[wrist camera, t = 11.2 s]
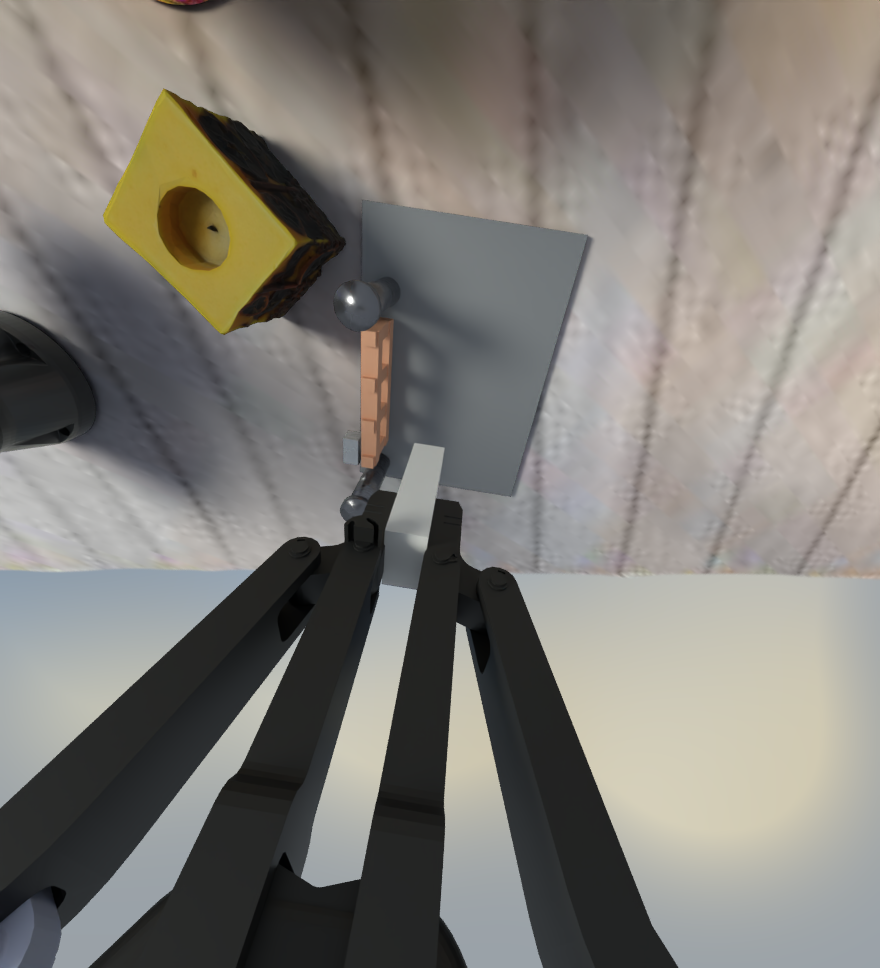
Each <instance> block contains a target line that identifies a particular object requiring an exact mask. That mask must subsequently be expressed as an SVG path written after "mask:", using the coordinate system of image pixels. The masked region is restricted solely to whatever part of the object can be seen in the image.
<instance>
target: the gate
mask: <svg viewBox="0 0 880 968" xmlns="http://www.w3.org/2000/svg"><path fill="white" fill-rule="evenodd" d="M393 325H394V319H391V318H384V317H380V318H379V320H378V322H377V323H376V324H375V325H374V326H372V327H371V328H370V329H368V330H366V331H361V467H365V468H372V469H373V468H374V466H376V465H377V463H378V461H379V456H380V454H381V451H382V449H383V447H384V446H386V444H387V442H388V438H389V416H390V393H391V370H392V347H393Z"/></svg>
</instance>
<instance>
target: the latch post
mask: <svg viewBox="0 0 880 968" xmlns="http://www.w3.org/2000/svg"><path fill="white" fill-rule="evenodd" d="M360 461H361V432H357V431H350V430H349V431H348V432H347V433H346V435H345V436H344V438H343V462H344V463H347V464H353V465H358V464H359V463H360ZM389 466H390V460H389V458H388V457H387V456H386V455H385V454H383V453H381V454H380V456H379V461H378V463H377V465H376V466H374V468H373V469H372V468H365V470H364V472H363V474H362V476H361V478H360V480H359V482H358V484H357V486H356V488H355V490H354V491H353V493H352V495H351V496H349V497H347V498H346V499H345V500H344V502H343V504H342V505H341V508H340V513H341V515H342V517H343V518H344V520H345V521H347V520H348V519H350V518H352V517H354V516H359V515H362V514H363V512H364V509H365V507H366V505H367V503H368V500H369V498H370V496H371V495H372V494H374V493H375V492H376V491H377V490H380V487H381V485H382V482H383V480H384V478H385V475H386V473H387V471H388V468H389Z"/></svg>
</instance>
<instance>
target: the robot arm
mask: <svg viewBox="0 0 880 968" xmlns="http://www.w3.org/2000/svg"><path fill="white" fill-rule="evenodd" d="M95 415H96V407H95V401H94V397H93V394H92V391H91V389H90V387H89V384H88V383H87V381H86V379H85V377H84V375H83V374H82V372H81V371H80V369H79V368H78V367H77V365H76V364H75V363H74V361H73V360H72V359H71V358H70V357H69V356H68V354H67V353H66V352H65V351H64V350H63V349H62V348H61V347H60V346H59V345H58V344H56V343H55V342H54V341H53V340H52V339H51V338H50V337H48V336H47V335H46V334H44V333H43V332H42V331H40V330H39V329H37V328H36V327H34V326H33V325H31V324H30V323H28V322H26V321H24V320H22V319H20V318H18V317H16V316H14V315H12V314H9V313H6V312H3V311H0V453H1V452H7V451H14V450H21V449H28V448H35V447H42V446H49V445H56V444H60V443H64V442H67V441H69V440H71V439H74V438H76V437H78V436H80V435H82V434H84V433H86V432H87V431H88V430H89V429H90V428H91V427H92V425H93V423H94V420H95ZM444 449H445V448H443V447H437V446H431V445H425V444H419V443H414V446H413V449H412V452H411V455H410V458H409V461H408V464H407V467H406V470H405V472H404V475H403V478H402V481H401V484H400V487H399V490H398V493H395V492H388V491H382V490H377V491H376V492H375V493H374V494H372V495H371V496H370V498H369V500H368V503H367V505H366V507H365V509H364V512H363V514H362V515H359V516H354V517H352V518H350V519H348V520H347V522H346V523H345V524H344V533H345V542H344V543H342V544H339V545H334V546H323V547H320V545H319V543H318V542H317V541H316V540H314V539H312V538H308V537H297V538H294V539H291V540H289V541H287V542H286V543H285V544H283V545H282V546H281V547H280V548H279V549H278V550H277V551H276V552H275V553H274V554H272V555H271V556H270V557H269V558H268V559H267V560H266V561H265V562H264V563H263V564H262V565H261V566H260V567H259V568H257V569H256V570H255V571H254V572H253V573H252V574H251V575H250V576H249V577H248V578H247V579H246V580H245V581H244V582H243V583H241V585H239V586H238V587H237V588H236V589H235V590H234V591H233V592H232V593H231V594H230V595H229V596H227V597H226V599H224V600H223V601H222V602H221V603H220V604H219V605H218V606H217V607H216V608H215V609H214V610H213V611H211V612H210V613H209V614H208V615H207V616H206V617H205V618H204V619H203V620H202V621H201V622H200V623H199V624H198V625H196V626H195V627H194V628H193V629H192V630H191V631H190V632H189V633H188V634H187V635H186V636H185V637H184V638H182V640H180V641H179V642H178V643H177V644H176V645H175V646H174V647H173V648H172V649H171V650H170V651H169V652H167V654H165V655H164V656H163V657H162V658H161V659H160V660H159V661H158V662H157V663H156V664H155V665H154V666H153V667H151V668H150V669H149V670H148V671H147V672H146V673H145V674H144V675H143V676H142V677H141V678H140V679H139V680H138V681H137V682H135V683H134V684H133V685H132V686H131V687H130V688H129V689H128V690H127V691H126V692H125V693H124V694H123V695H121V696H120V697H119V698H118V699H117V700H116V701H115V702H114V703H113V704H112V705H111V706H110V707H109V708H107V710H105V711H104V712H103V713H102V714H101V715H100V716H99V717H98V718H97V719H96V720H95V721H94V722H92V724H90V725H89V726H88V727H87V728H86V729H85V730H84V731H83V732H82V733H81V734H80V735H79V736H78V737H76V738H75V739H74V740H73V741H72V742H71V743H70V744H69V745H68V746H67V747H66V748H65V749H64V750H62V751H61V752H60V753H59V754H58V755H57V756H56V757H55V758H54V759H53V760H52V761H51V762H50V763H49V764H48V765H46V766H45V767H44V768H43V769H42V770H41V771H40V772H39V773H38V774H37V775H36V776H35V777H34V778H32V779H31V780H30V781H29V782H28V783H27V784H26V785H25V786H24V787H23V788H22V789H21V790H20V791H19V792H17V794H15V795H14V796H13V797H12V798H11V799H10V800H9V801H8V802H7V803H6V804H5V805H4V806H2V807H1V808H0V968H52V966H53V963H54V961H55V956H56V953H57V951H58V948H59V943H60V938H61V929H62V928H63V927H64V926H66V925H67V924H68V923H69V922H70V921H71V920H72V919H73V918H74V917H75V916H76V915H77V914H78V913H79V912H80V911H81V910H82V909H83V908H84V907H85V906H86V905H87V903H88V902H89V901H90V900H91V899H92V898H93V897H94V896H95V895H96V894H97V893H98V892H99V891H100V889H101V888H102V887H103V886H104V885H105V884H106V883H107V882H108V881H109V880H110V878H111V877H112V876H113V875H114V874H115V872H116V871H117V870H118V869H119V868H120V866H121V865H122V864H123V863H124V861H125V860H126V859H127V858H128V857H129V855H130V854H131V853H132V852H133V850H134V849H135V848H136V846H137V845H138V844H139V843H140V841H141V840H142V839H143V838H144V836H145V835H146V834H147V832H148V831H149V830H150V828H151V827H152V826H153V825H154V823H155V822H156V821H157V819H158V818H159V817H160V815H161V814H162V813H163V812H164V810H165V809H166V808H167V806H168V805H169V804H170V802H171V801H172V800H173V798H174V797H175V796H176V795H177V793H178V792H179V791H180V789H181V788H182V786H183V785H184V784H185V783H186V781H187V780H188V779H189V778H190V776H191V775H192V774H193V772H194V771H195V770H196V769H197V767H198V766H199V765H200V763H201V762H202V761H203V759H204V758H205V757H206V756H207V754H208V753H209V752H210V750H211V749H212V748H213V746H214V745H215V744H216V743H217V741H218V740H219V739H220V737H221V736H222V735H223V733H224V732H225V731H226V730H227V728H228V727H229V725H230V724H231V723H232V722H233V720H234V719H235V718H236V717H237V715H238V714H239V713H240V711H241V710H242V709H243V707H244V706H245V705H246V703H247V702H248V701H249V700H250V698H251V697H252V696H253V694H254V693H255V692H256V690H257V689H258V688H259V687H260V685H261V684H262V683H263V681H264V680H265V679H266V678H267V676H268V675H269V673H270V672H271V671H272V669H273V668H274V667H275V665H276V664H277V663H278V662H279V661H280V659H281V658H282V656H283V655H284V654H285V653H286V651H287V650H288V649H289V648H290V646H291V645H292V644H293V642H294V641H295V640H296V638H297V637H298V636H299V635H300V633H301V632H302V631H303V629H304V628H305V630H304V632H303V634H302V636H301V638H300V641H299V643H298V645H297V647H296V649H295V652H294V654H293V656H292V658H291V660H290V662H289V665H288V667H287V669H286V671H285V673H284V675H283V678H282V680H281V682H280V684H279V686H278V689H277V691H276V693H275V695H274V697H273V700H272V702H271V704H270V706H269V708H268V710H267V713H266V715H265V717H264V719H263V721H262V724H261V726H260V728H259V730H258V732H257V734H256V737H255V739H254V741H253V743H252V746H251V747H250V750H249V752H248V754H247V756H246V759H245V761H244V762H243V764H242V766H241V768H240V769H239V771H238V772H237V774H235V775H234V776H233V777H231V778H230V779H229V780H228V781H227V783H226V784H225V785H224V787H223V788H222V789H221V791H220V793H219V795H218V797H217V799H216V800H215V802H214V804H213V807H212V808H211V811H210V813H209V815H208V817H207V819H206V821H205V823H204V825H203V827H202V830H201V831H200V834H199V836H198V838H197V840H196V842H195V844H194V846H193V848H192V850H191V852H190V854H189V857H188V859H187V861H186V863H185V865H184V867H183V869H182V871H181V874H180V875H179V878H178V880H177V882H176V884H175V886H174V888H173V890H172V891H170V892H169V893H168V894H167V895H165V896H164V897H163V898H162V899H160V900H159V901H158V902H157V903H156V904H155V905H154V906H153V907H152V908H151V909H150V910H148V911H147V912H146V913H145V914H144V915H143V916H142V917H141V918H140V919H139V920H138V921H137V922H136V923H135V924H134V925H133V926H132V927H131V928H130V929H129V930H127V931H126V932H125V933H124V934H123V935H122V936H121V937H120V938H119V939H118V940H117V941H116V942H115V943H114V944H113V945H112V946H111V947H110V948H109V949H108V950H107V951H105V952H104V953H103V954H102V955H101V956H100V957H99V958H98V959H97V960H96V961H95V962H94V963H93V964H92V965H91V966H90V967H89V968H467V966H466V963H465V960H464V959H463V956H462V953H461V951H460V949H459V947H458V945H457V943H456V941H455V939H454V937H453V935H452V933H451V932H450V930H449V929H448V927H447V926H446V925H445V923H444V921H443V920H442V919H441V918H440V901H441V884H442V869H443V854H444V838H445V837H444V836H445V814H444V789H445V776H446V761H447V747H448V733H449V719H450V705H451V691H452V676H453V661H454V648H455V634H456V622H457V623H459V624H461V625H463V626H465V627H466V632H467V636H468V641H469V646H470V650H471V655H472V659H473V664H474V668H475V672H476V677H477V682H478V687H479V691H480V695H481V700H482V705H483V709H484V714H485V719H486V723H487V728H488V732H489V737H490V741H491V746H492V750H493V755H494V759H495V764H496V768H497V773H498V777H499V782H500V787H501V791H502V796H503V800H504V805H505V809H506V813H507V818H508V823H509V828H510V832H511V837H512V841H513V845H514V850H515V855H516V859H517V864H518V868H519V873H520V877H521V882H522V887H523V891H524V895H525V900H526V905H527V909H528V914H529V918H530V922H531V926H532V930H533V934H534V937H535V941H536V945H537V949H538V952H539V956H540V959H541V962H542V965H543V968H678V966H677V965H676V963H675V961H674V960H673V958H672V957H671V955H670V954H669V952H668V950H667V949H666V947H665V945H664V944H663V943H662V941H661V939H660V938H659V936H658V935H657V933H656V931H655V930H654V928H653V926H652V924H651V922H650V919H649V917H648V914H647V912H646V909H645V907H644V904H643V901H642V899H641V896H640V894H639V892H638V889H637V886H636V884H635V881H634V879H633V876H632V874H631V871H630V868H629V866H628V863H627V861H626V858H625V856H624V853H623V851H622V848H621V846H620V843H619V841H618V838H617V835H616V833H615V831H614V828H613V825H612V823H611V820H610V818H609V815H608V813H607V810H606V808H605V806H604V803H603V800H602V797H601V795H600V792H599V790H598V787H597V785H596V782H595V780H594V777H593V775H592V772H591V769H590V767H589V765H588V762H587V759H586V757H585V754H584V752H583V749H582V747H581V744H580V742H579V739H578V737H577V734H576V731H575V729H574V726H573V724H572V721H571V719H570V716H569V714H568V711H567V709H566V706H565V704H564V701H563V698H562V696H561V693H560V691H559V688H558V686H557V683H556V681H555V678H554V676H553V673H552V671H551V668H550V665H549V663H548V661H547V658H546V655H545V653H544V650H543V648H542V645H541V643H540V640H539V638H538V635H537V632H536V630H535V628H534V625H533V622H532V620H531V617H530V615H529V612H528V610H527V607H526V605H525V602H524V599H523V597H522V595H521V592H520V589H519V587H518V584H517V582H516V580H515V578H514V577H513V575H511V574H510V573H509V572H508V571H506V570H504V569H501V568H497V567H490V568H486V569H484V570H483V571H479V570H477V569H475V568H473V567H471V566H469V565H468V564H467V563H465V561H464V560H463V559H462V557H461V555H460V540H461V525H462V512H463V510H462V508H461V506H460V504H459V502H455V501H449V500H443V499H437V494H438V488H439V481H440V475H441V468H442V462H443V455H444ZM381 579H382V584H385V585H391V586H397V587H403V588H410V589H416V590H417V594H416V599H415V604H414V609H413V614H412V620H411V625H410V630H409V636H408V641H407V646H406V651H405V656H404V662H403V667H402V672H401V677H400V683H399V688H398V693H397V698H396V704H395V709H394V714H393V720H392V725H391V730H390V735H389V740H388V746H387V751H386V756H385V762H384V767H383V772H382V777H381V783H380V787H379V793H378V797H377V801H376V805H375V810H374V815H373V819H372V825H371V829H370V835H369V840H368V845H367V850H366V855H365V861H364V866H363V871H362V877H361V879H359V880H354V881H350V882H345V883H340V884H335V885H330V886H326V887H320V888H319V887H314V886H312V885H311V884H309V883H308V882H306V881H305V880H303V879H301V874H302V871H303V867H304V864H305V860H306V857H307V853H308V848H309V844H310V838H311V832H312V826H313V822H314V817H315V814H316V810H317V807H318V804H319V800H320V797H321V793H322V790H323V786H324V783H325V779H326V776H327V773H328V769H329V765H330V762H331V759H332V755H333V752H334V748H335V745H336V741H337V738H338V734H339V731H340V728H341V724H342V721H343V717H344V714H345V710H346V707H347V703H348V700H349V697H350V693H351V690H352V686H353V683H354V679H355V676H356V673H357V669H358V666H359V662H360V659H361V655H362V652H363V648H364V645H365V642H366V638H367V635H368V631H369V628H370V624H371V621H372V617H373V614H374V611H375V607H376V604H377V600H378V597H379V586H380V582H381Z"/></svg>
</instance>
